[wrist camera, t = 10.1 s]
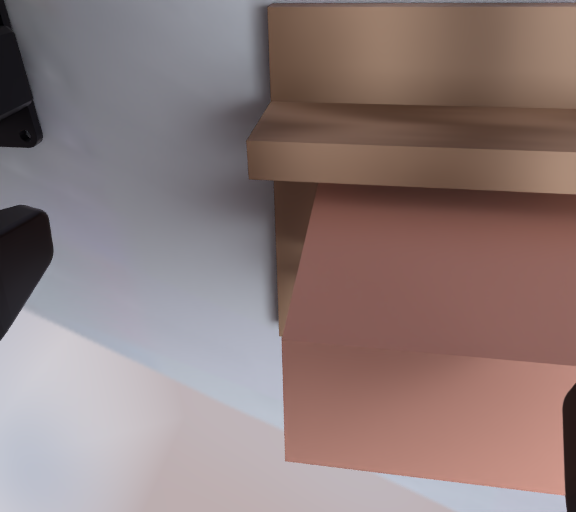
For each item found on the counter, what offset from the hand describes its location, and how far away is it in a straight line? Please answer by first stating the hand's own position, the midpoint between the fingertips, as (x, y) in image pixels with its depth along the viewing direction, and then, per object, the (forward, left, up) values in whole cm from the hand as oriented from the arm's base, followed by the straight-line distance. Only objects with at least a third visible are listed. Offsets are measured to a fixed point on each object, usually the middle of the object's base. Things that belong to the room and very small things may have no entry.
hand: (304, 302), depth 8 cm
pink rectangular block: (+3, -4, -11) cm, 12 cm away
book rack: (+3, -4, -12) cm, 13 cm away
